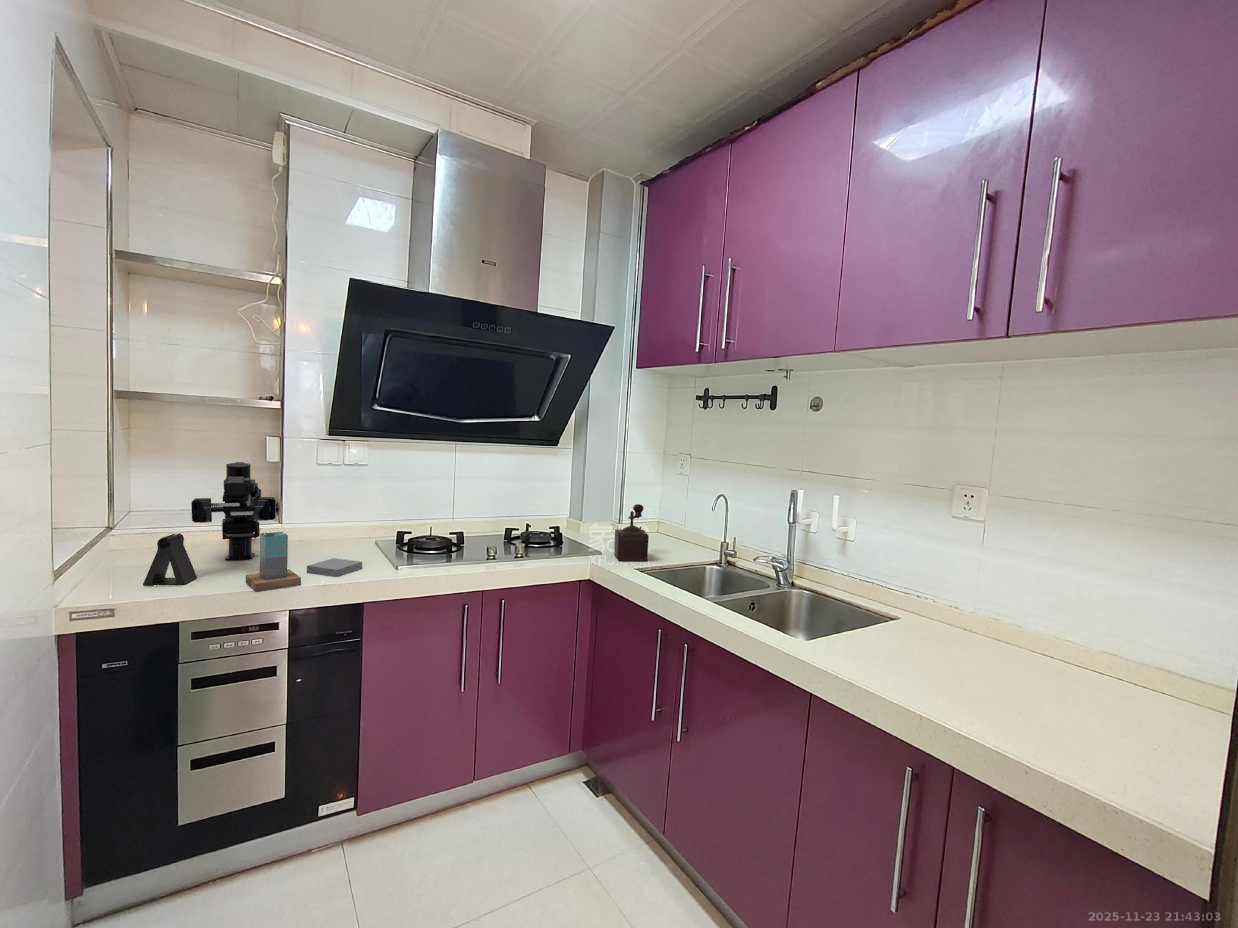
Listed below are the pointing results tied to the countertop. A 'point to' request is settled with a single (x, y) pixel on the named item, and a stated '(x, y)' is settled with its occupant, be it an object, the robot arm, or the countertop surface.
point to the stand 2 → (334, 567)
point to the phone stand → (175, 554)
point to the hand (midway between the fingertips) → (231, 519)
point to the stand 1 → (272, 581)
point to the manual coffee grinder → (631, 540)
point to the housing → (273, 555)
